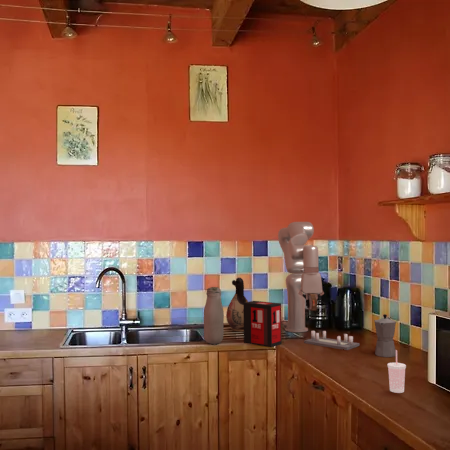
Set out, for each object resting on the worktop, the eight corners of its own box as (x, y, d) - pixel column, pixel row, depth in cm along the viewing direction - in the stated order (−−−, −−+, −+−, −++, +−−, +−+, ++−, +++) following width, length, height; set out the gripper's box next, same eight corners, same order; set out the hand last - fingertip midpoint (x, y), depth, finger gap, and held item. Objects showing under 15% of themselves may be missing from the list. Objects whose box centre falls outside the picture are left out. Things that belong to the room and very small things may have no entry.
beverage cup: (402, 387, 180) (401, 348, 180) (409, 393, 174) (408, 352, 174) (385, 388, 180) (384, 348, 180) (391, 393, 174) (390, 352, 174)
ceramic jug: (222, 328, 293) (222, 276, 294) (248, 327, 298) (247, 275, 298) (232, 334, 277) (231, 278, 277) (258, 332, 282) (258, 277, 282)
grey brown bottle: (206, 346, 248) (206, 288, 248) (201, 342, 258) (201, 286, 258) (226, 345, 251) (225, 287, 251) (220, 340, 261) (220, 285, 261)
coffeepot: (393, 359, 220) (392, 317, 220) (371, 356, 225) (370, 315, 225) (400, 351, 234) (399, 312, 234) (379, 349, 238) (378, 310, 239)
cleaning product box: (243, 342, 256) (243, 302, 256) (254, 339, 263) (254, 300, 263) (271, 347, 245) (270, 305, 245) (281, 344, 252) (281, 303, 252)
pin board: (304, 343, 254) (304, 332, 254) (317, 339, 263) (317, 328, 263) (347, 350, 238) (346, 338, 238) (359, 345, 247) (359, 334, 247)
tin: (317, 312, 248) (317, 294, 249) (310, 311, 248) (311, 294, 249) (311, 307, 263) (311, 291, 264) (304, 307, 263) (305, 291, 264)
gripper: (296, 271, 252) (296, 308, 252) (328, 270, 253) (329, 308, 253) (293, 270, 260) (294, 306, 259) (325, 269, 261) (325, 306, 260)
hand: (311, 307), depth 256 cm, fingers closed on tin, 2 cm apart
